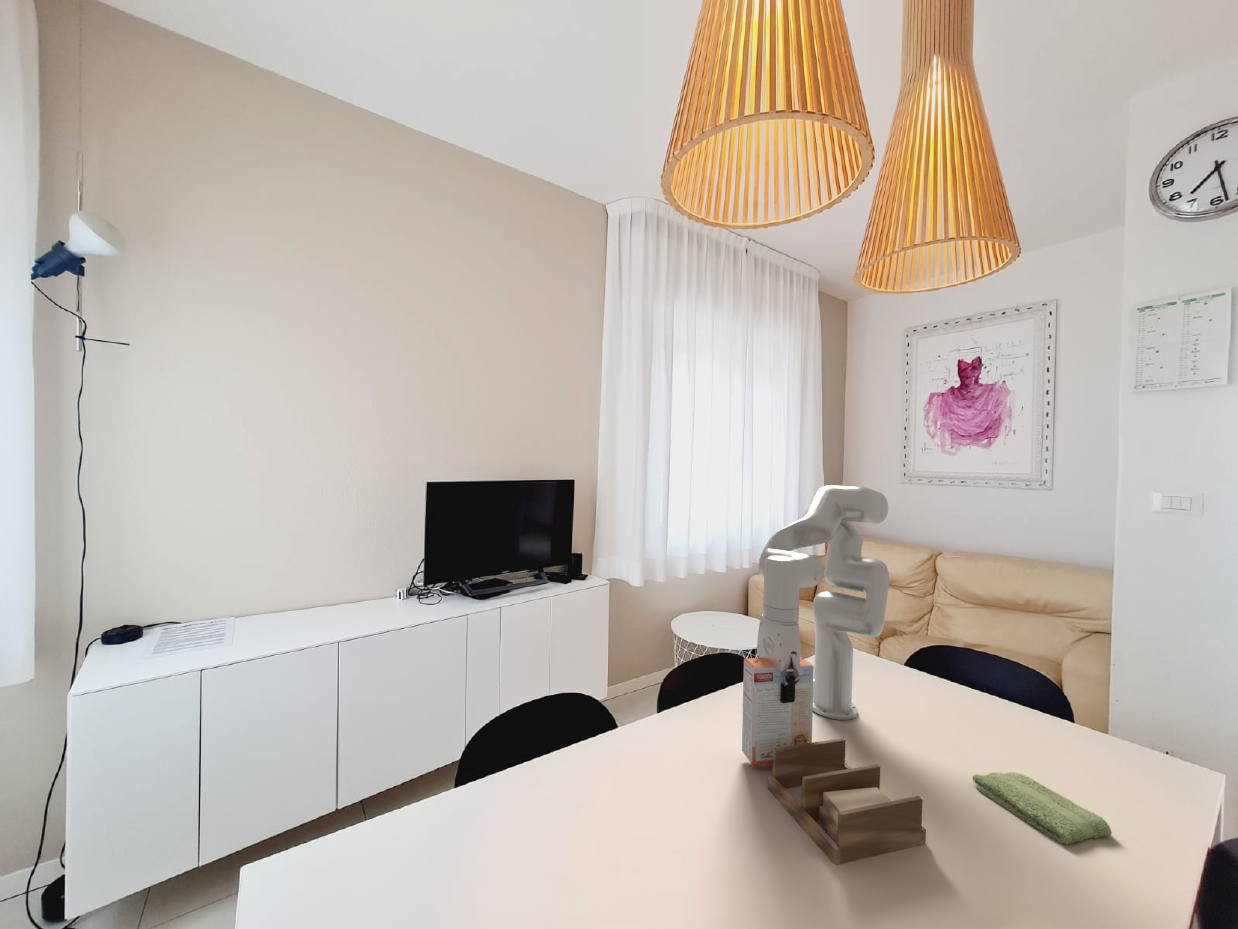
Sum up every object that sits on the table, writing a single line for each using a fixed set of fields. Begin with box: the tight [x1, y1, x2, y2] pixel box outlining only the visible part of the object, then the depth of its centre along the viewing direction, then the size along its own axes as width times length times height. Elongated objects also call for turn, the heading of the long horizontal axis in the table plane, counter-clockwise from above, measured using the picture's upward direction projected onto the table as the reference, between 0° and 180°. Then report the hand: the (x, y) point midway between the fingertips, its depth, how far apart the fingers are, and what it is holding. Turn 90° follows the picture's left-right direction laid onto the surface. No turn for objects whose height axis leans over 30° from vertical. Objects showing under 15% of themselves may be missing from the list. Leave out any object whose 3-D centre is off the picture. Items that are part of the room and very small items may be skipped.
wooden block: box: [818, 787, 892, 844], centre depth 86 cm, size 6×12×6 cm, turn 95°
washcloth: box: [972, 771, 1113, 845], centre depth 94 cm, size 13×18×3 cm
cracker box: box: [741, 656, 815, 766], centre depth 106 cm, size 14×6×21 cm, turn 100°
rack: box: [767, 737, 927, 866], centre depth 91 cm, size 19×19×8 cm
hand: (777, 693), depth 106 cm, fingers closed on cracker box, 6 cm apart
